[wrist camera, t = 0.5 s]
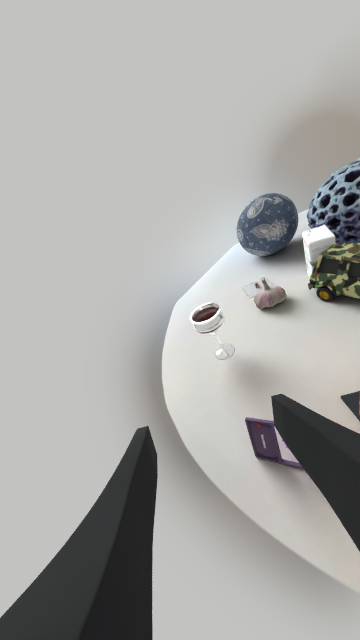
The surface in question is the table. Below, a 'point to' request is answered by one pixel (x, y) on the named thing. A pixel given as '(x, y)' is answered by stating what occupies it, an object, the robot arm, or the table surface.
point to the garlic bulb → (269, 295)
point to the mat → (352, 402)
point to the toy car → (337, 272)
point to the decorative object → (339, 204)
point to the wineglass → (211, 326)
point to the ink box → (316, 245)
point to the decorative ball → (267, 224)
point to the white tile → (255, 287)
